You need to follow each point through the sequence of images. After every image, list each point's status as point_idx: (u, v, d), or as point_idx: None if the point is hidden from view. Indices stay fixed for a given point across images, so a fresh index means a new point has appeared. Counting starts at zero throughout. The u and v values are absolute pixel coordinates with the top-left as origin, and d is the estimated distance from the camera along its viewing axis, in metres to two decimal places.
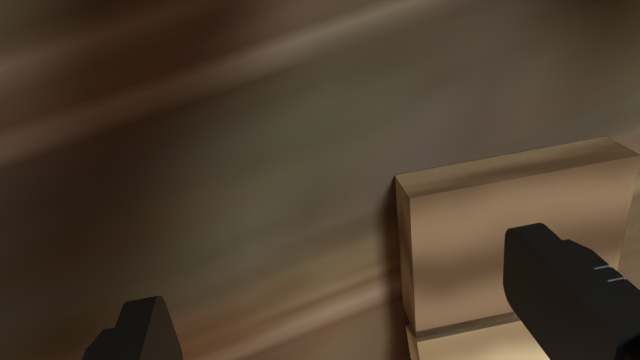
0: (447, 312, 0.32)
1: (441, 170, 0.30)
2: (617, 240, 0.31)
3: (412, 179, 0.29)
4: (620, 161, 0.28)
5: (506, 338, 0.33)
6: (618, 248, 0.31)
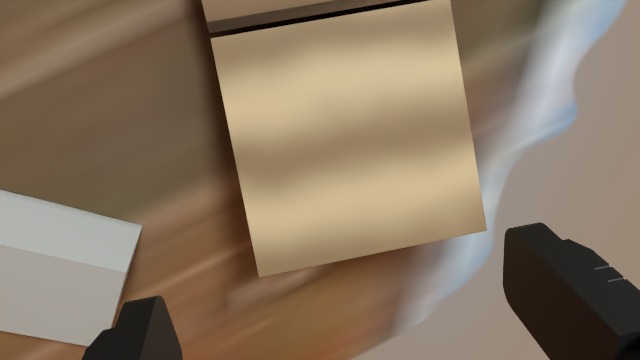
0: None
1: None
2: None
3: None
4: None
5: (321, 37, 0.27)
6: None
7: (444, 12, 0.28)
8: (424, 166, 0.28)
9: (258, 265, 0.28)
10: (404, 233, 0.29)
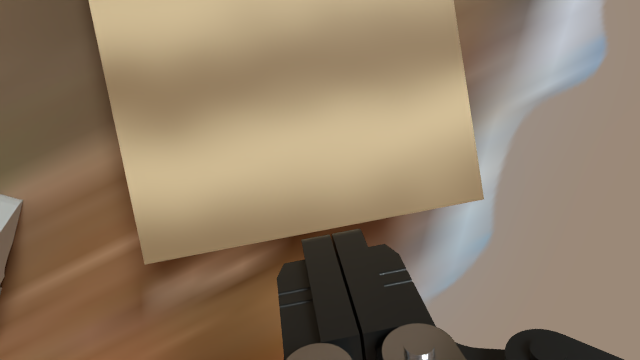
0: None
1: None
2: None
3: None
4: None
5: None
6: None
7: None
8: (391, 102, 0.19)
9: (143, 246, 0.19)
10: (362, 201, 0.19)
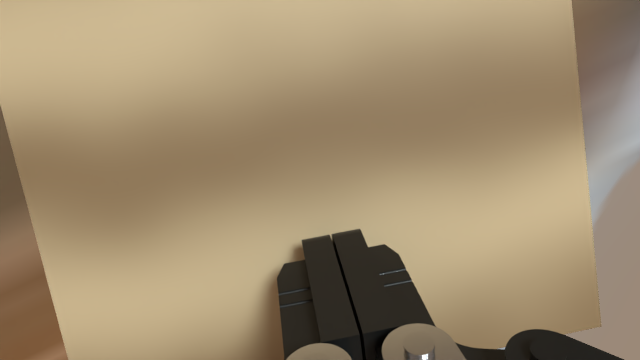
0: None
1: None
2: None
3: None
4: None
5: None
6: None
7: None
8: (471, 186, 0.12)
9: None
10: None
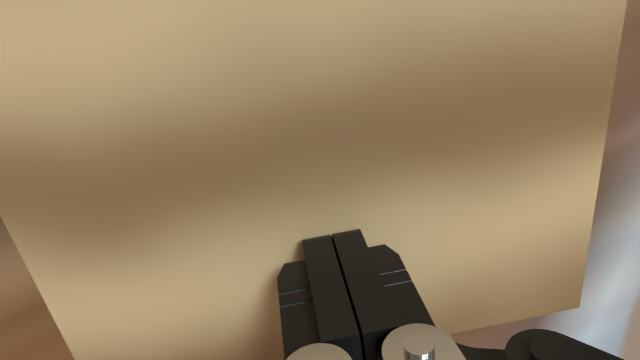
0: None
1: None
2: None
3: None
4: None
5: None
6: None
7: None
8: (480, 192, 0.12)
9: None
10: None
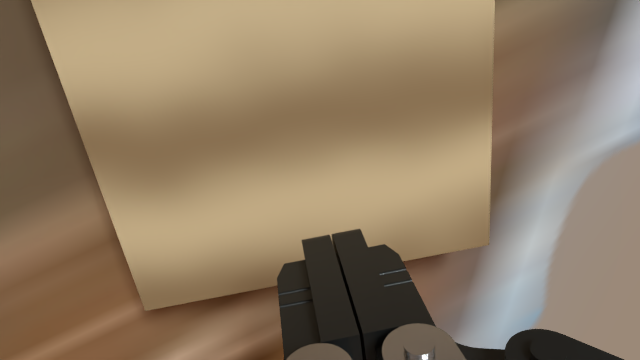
0: None
1: None
2: None
3: None
4: None
5: None
6: None
7: None
8: (408, 155, 0.17)
9: (142, 295, 0.18)
10: None
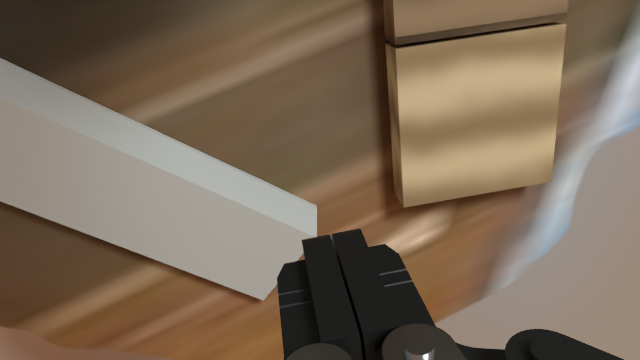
0: (422, 17, 0.36)
1: None
2: None
3: None
4: None
5: (472, 51, 0.38)
6: None
7: (560, 35, 0.38)
8: (521, 140, 0.42)
9: (404, 200, 0.43)
10: (499, 182, 0.43)
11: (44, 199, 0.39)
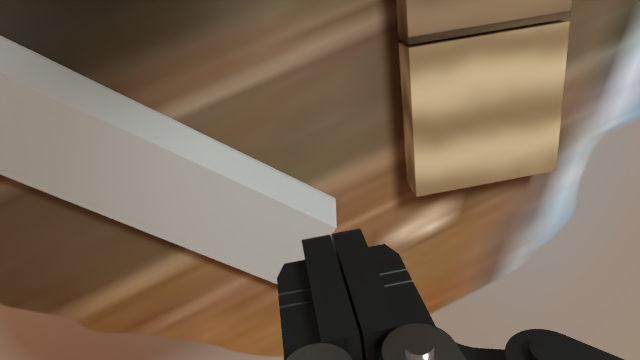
0: (433, 18, 0.39)
1: None
2: None
3: None
4: None
5: (480, 48, 0.40)
6: None
7: (563, 32, 0.41)
8: (527, 132, 0.44)
9: (417, 190, 0.45)
10: (506, 172, 0.46)
11: (84, 190, 0.42)
